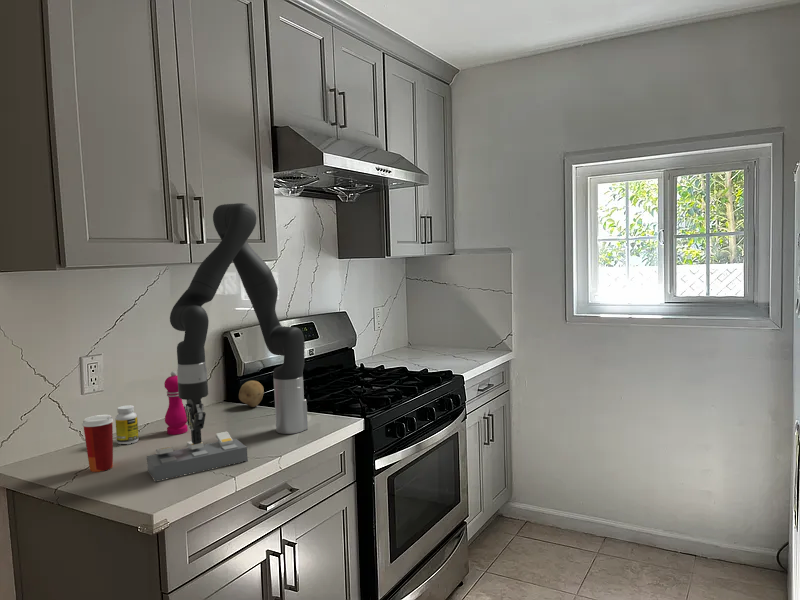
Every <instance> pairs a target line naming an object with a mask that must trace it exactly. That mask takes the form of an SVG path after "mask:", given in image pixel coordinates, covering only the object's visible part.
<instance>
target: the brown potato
mask: <svg viewBox="0 0 800 600" xmlns="http://www.w3.org/2000/svg"><path fill="white" fill-rule="evenodd" d="M264 389H265V388H264V386H263V384H262V383H260V382H259V381H257V380H248V381H246V382H244V383H243V384H242V385H241V386H240V389H239V392H238V399H239V401H240V402H241V403H243V404H245V405H248V407H250V408H251V407H252V408H254V407H257V406H258V405H260V403H261V402H262V400H263V396H264V393H265V391H264Z"/></svg>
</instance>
